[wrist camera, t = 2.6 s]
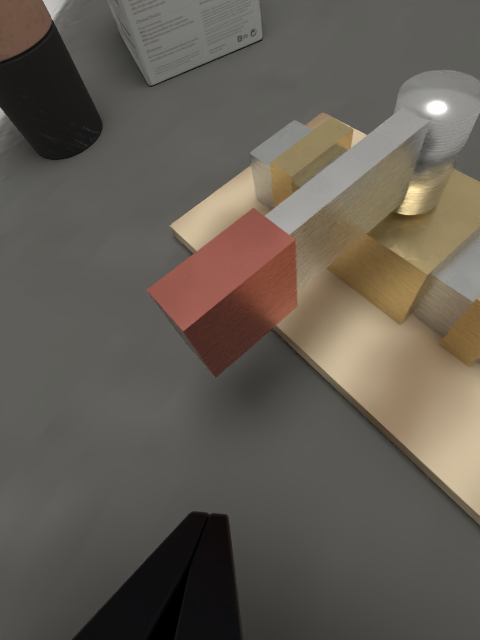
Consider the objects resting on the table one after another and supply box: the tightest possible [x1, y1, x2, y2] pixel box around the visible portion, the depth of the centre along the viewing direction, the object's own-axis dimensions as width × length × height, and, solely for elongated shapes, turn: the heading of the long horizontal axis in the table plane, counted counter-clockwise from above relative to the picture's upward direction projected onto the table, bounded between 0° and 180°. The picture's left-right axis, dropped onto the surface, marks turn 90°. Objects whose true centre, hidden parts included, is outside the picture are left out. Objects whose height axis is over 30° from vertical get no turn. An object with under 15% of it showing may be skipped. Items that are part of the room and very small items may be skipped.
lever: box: [147, 70, 480, 377], centre depth 15 cm, size 14×3×5 cm, turn 131°
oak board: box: [170, 112, 480, 525], centre depth 23 cm, size 26×16×1 cm, turn 41°
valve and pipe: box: [249, 117, 480, 367], centre depth 20 cm, size 20×6×5 cm, turn 41°
